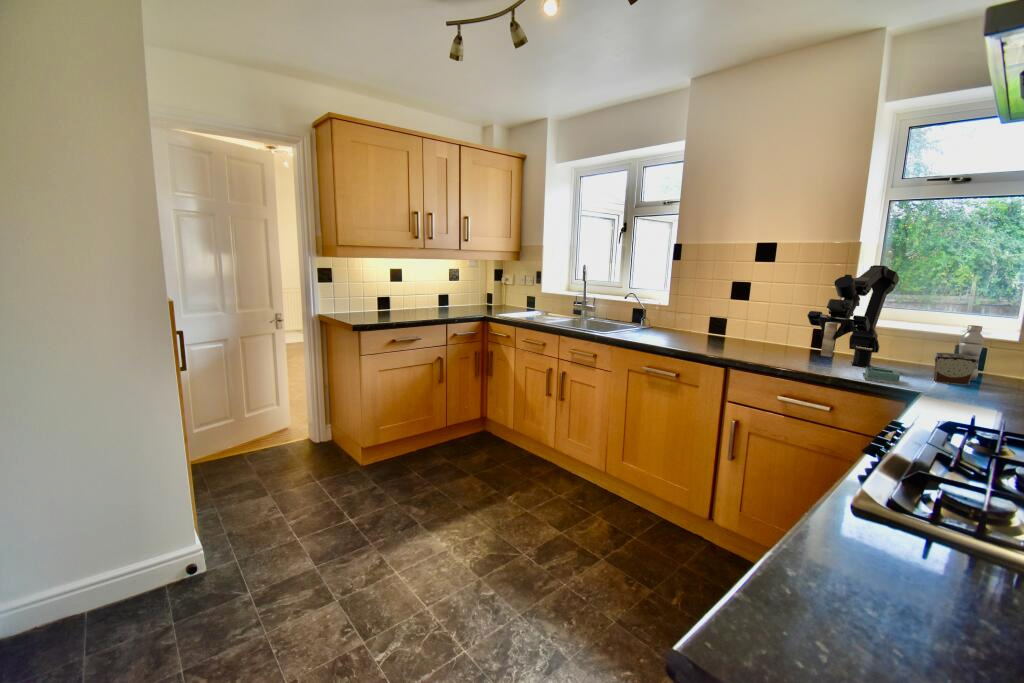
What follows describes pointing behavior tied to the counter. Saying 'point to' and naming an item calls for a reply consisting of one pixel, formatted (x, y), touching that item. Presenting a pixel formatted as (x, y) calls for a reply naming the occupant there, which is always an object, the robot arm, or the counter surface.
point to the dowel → (828, 339)
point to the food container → (954, 368)
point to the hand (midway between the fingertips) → (827, 338)
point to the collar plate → (882, 375)
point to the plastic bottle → (972, 345)
